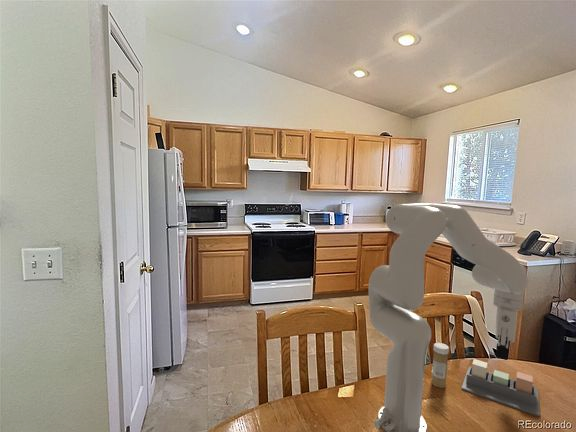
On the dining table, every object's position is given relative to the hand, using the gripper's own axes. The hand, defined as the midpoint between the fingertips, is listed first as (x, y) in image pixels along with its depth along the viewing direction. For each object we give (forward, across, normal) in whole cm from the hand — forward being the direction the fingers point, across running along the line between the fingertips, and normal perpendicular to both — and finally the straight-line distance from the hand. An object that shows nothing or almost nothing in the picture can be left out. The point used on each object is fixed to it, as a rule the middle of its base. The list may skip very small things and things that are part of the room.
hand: (501, 357), depth 102 cm
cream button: (+9, +1, +6) cm, 10 cm away
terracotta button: (+9, +1, -6) cm, 11 cm away
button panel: (+11, +1, 0) cm, 11 cm away
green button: (+10, +1, 0) cm, 10 cm away
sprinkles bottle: (+12, -8, +16) cm, 22 cm away
